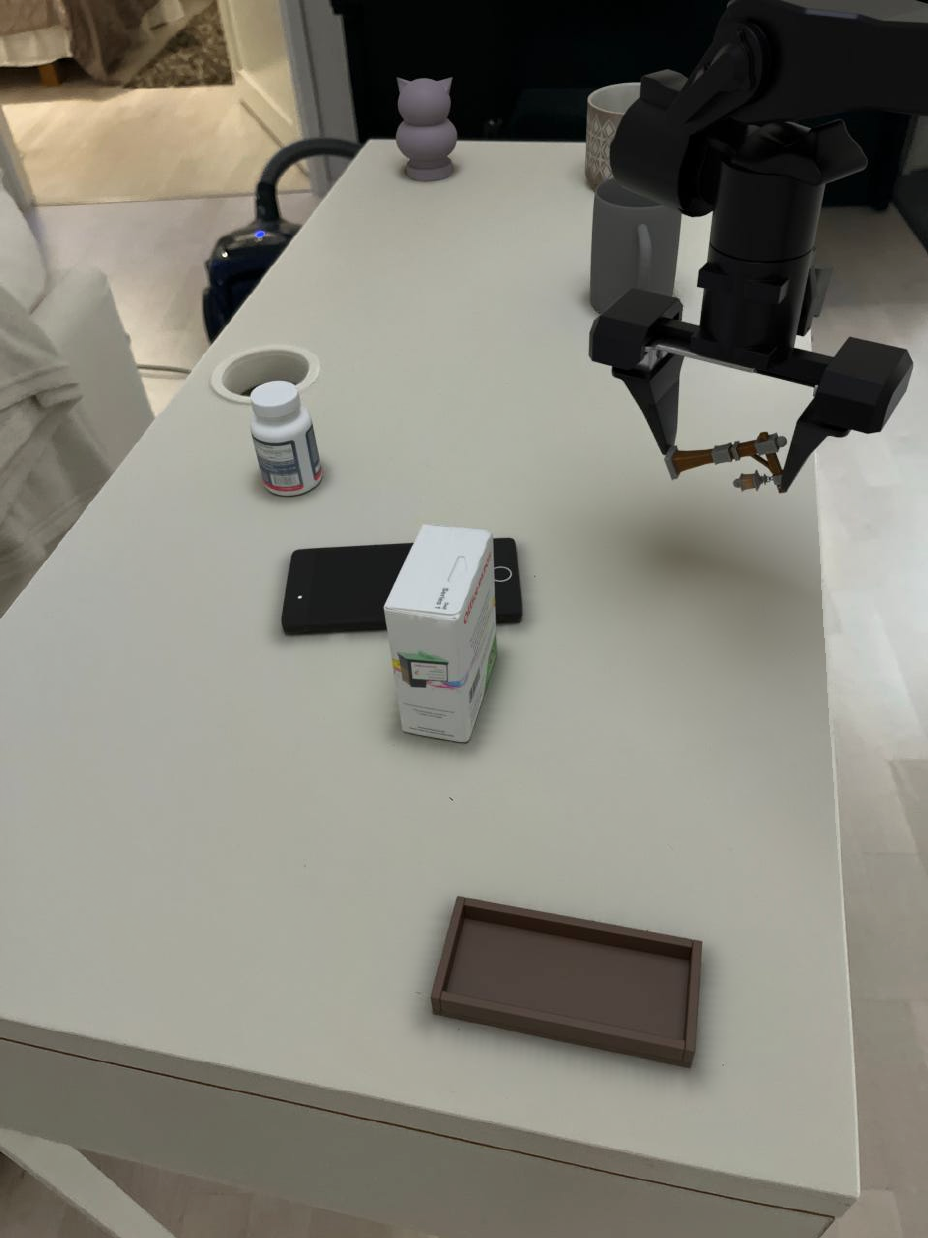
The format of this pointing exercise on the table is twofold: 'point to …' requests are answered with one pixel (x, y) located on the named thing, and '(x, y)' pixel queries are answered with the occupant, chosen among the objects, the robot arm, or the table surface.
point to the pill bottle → (284, 439)
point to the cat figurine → (426, 128)
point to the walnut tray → (571, 980)
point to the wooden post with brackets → (726, 453)
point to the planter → (605, 126)
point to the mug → (631, 245)
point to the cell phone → (371, 585)
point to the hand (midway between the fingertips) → (725, 469)
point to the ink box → (443, 630)
